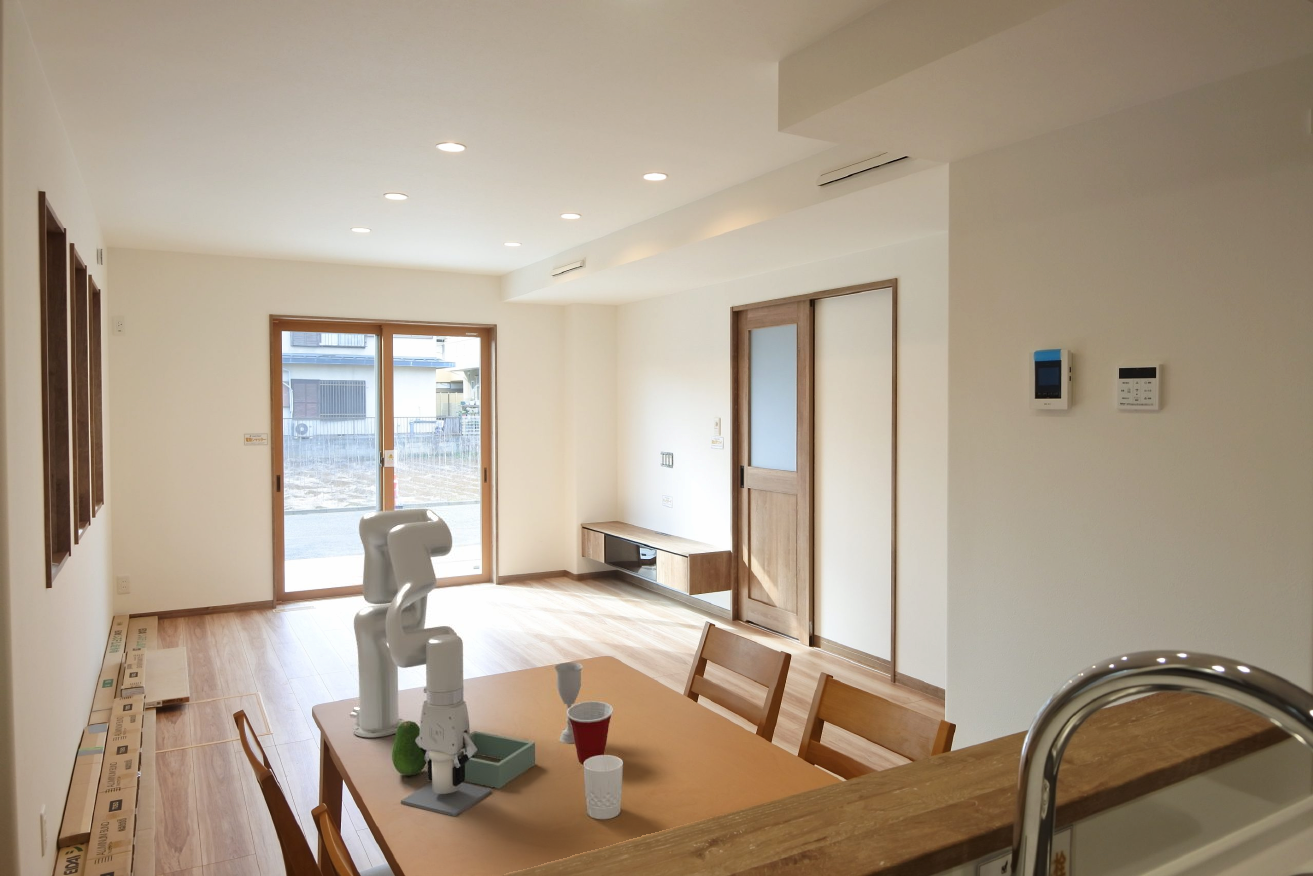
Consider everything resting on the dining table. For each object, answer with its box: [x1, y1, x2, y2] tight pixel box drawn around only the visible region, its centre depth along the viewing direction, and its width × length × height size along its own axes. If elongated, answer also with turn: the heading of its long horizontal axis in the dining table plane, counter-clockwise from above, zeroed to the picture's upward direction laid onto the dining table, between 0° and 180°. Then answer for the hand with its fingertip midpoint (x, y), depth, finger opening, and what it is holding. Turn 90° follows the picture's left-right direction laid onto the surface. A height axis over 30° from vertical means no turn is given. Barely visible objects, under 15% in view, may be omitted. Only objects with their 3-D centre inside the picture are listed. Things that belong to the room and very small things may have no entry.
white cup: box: [583, 754, 624, 820], centre depth 170 cm, size 8×8×10 cm
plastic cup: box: [566, 700, 614, 765], centre depth 196 cm, size 11×11×12 cm
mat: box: [400, 781, 493, 818], centre depth 177 cm, size 14×12×1 cm
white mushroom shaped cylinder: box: [429, 750, 462, 794], centre depth 177 cm, size 7×7×9 cm
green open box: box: [460, 730, 536, 789], centre depth 191 cm, size 17×14×5 cm
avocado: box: [391, 720, 428, 777], centre depth 188 cm, size 8×8×12 cm
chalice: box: [554, 661, 584, 744], centre depth 208 cm, size 7×7×18 cm
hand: (446, 780), depth 177 cm, fingers closed on white mushroom shaped cylinder, 5 cm apart
